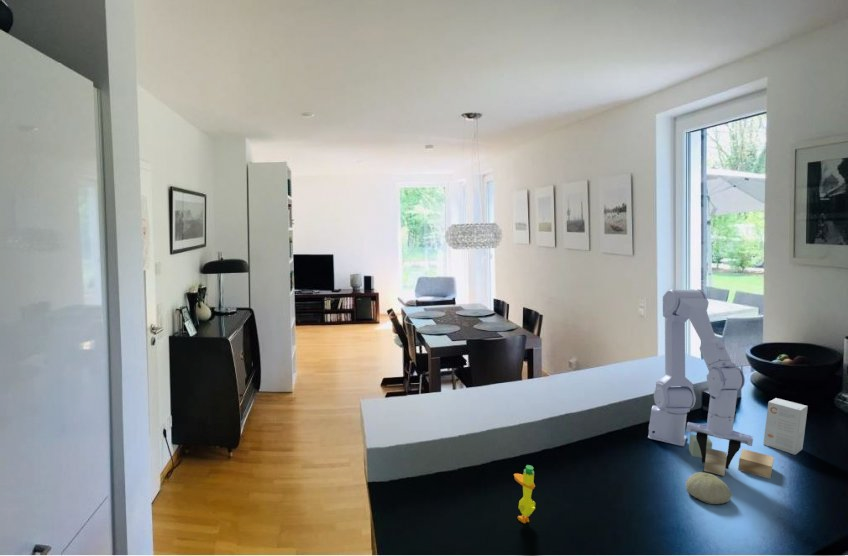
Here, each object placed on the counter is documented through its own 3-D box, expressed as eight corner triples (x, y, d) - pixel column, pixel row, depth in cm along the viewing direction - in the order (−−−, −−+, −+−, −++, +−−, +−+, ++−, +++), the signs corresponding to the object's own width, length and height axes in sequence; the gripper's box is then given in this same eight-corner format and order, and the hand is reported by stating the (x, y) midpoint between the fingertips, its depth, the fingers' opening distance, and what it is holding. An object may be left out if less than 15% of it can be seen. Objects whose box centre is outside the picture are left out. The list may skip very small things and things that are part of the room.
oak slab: (738, 470, 135) (739, 458, 134) (741, 461, 140) (742, 448, 140) (770, 479, 131) (772, 466, 130) (772, 469, 136) (773, 456, 136)
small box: (802, 449, 149) (808, 405, 147) (795, 455, 145) (801, 410, 143) (770, 439, 155) (775, 397, 153) (762, 444, 151) (768, 401, 149)
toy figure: (506, 513, 110) (509, 459, 109) (519, 509, 112) (522, 456, 111) (527, 530, 105) (531, 474, 103) (540, 525, 106) (544, 470, 105)
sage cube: (692, 456, 141) (693, 440, 141) (688, 449, 146) (690, 434, 145) (710, 459, 140) (712, 443, 140) (706, 452, 144) (708, 436, 144)
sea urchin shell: (724, 481, 125) (733, 469, 119) (727, 515, 120) (736, 505, 114) (682, 473, 127) (688, 461, 121) (683, 506, 123) (689, 496, 117)
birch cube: (704, 470, 132) (705, 454, 132) (705, 463, 136) (707, 447, 136) (724, 476, 130) (726, 459, 130) (724, 468, 134) (726, 452, 133)
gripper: (687, 411, 132) (682, 462, 133) (755, 425, 124) (748, 479, 126) (690, 403, 138) (684, 452, 139) (754, 416, 130) (748, 467, 132)
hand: (715, 464), depth 133 cm, fingers closed on birch cube, 4 cm apart
